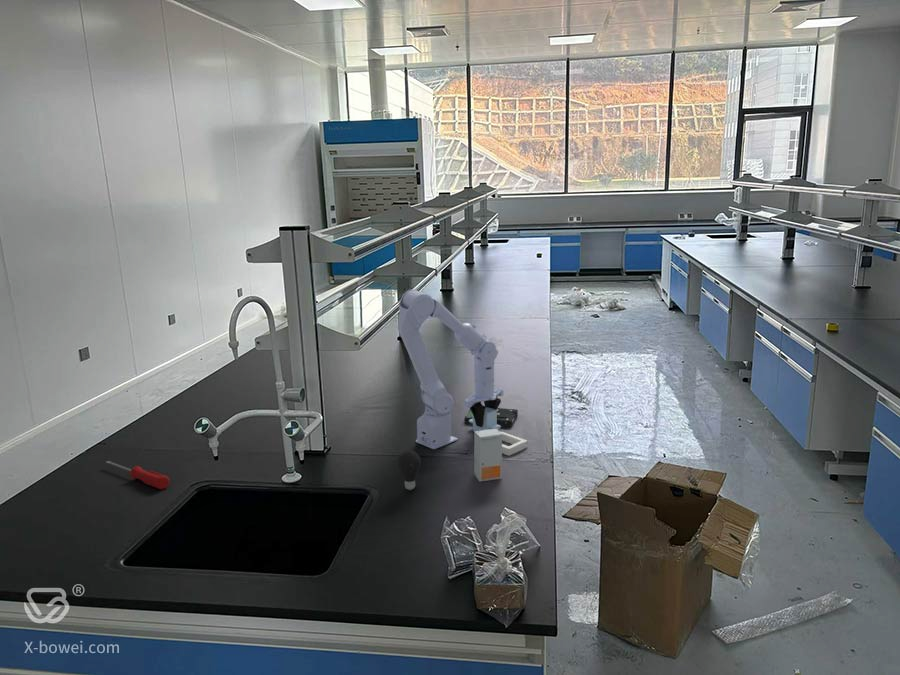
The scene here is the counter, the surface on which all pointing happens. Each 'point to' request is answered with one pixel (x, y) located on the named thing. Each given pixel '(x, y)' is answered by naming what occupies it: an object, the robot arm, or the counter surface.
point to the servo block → (487, 420)
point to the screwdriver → (147, 476)
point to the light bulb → (409, 467)
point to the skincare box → (488, 455)
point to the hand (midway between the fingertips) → (484, 424)
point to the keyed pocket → (517, 444)
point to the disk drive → (499, 417)
